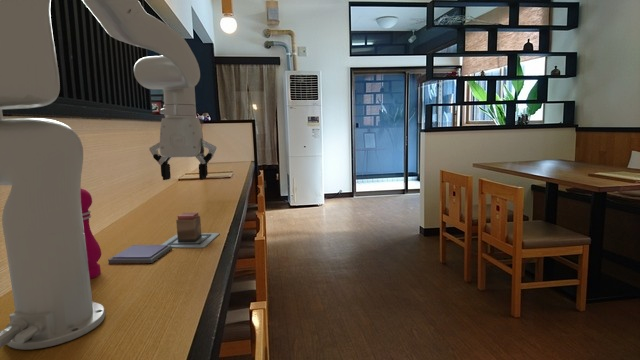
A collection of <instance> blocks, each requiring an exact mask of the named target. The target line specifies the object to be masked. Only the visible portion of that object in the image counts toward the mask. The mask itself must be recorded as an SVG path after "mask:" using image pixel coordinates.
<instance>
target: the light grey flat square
mask: <svg viewBox="0 0 640 360" xmlns="http://www.w3.org/2000/svg"><path fill="white" fill-rule="evenodd" d="M201 235H202V237H201V238H200V239H199V240H197V241H196V242H178V236H177V233H176V234H175V235H173V236H172V237H170V238H169V239H167V240H166V241H164V242H163V243H161V244H160V245H171V249H184V248H186V249H188V248H189V249H197V248H198V249H201V248H202V249H203V248H206V247H207V246H208V245H209V244H211V242H212V241H213V240H214V239H216V238H217V237H218V236H219V235H220V233H219V232H209V233H208V232H204V233H203V232H201Z"/></svg>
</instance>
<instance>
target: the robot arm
mask: <svg viewBox="0 0 640 360" xmlns="http://www.w3.org/2000/svg"><path fill="white" fill-rule="evenodd" d="M81 1H82V2H83V4H84V5H85V7H86V8H88V10H89V12H91V14H92V15H93V16H94V17H95V19H96V20H97V22H98V23H99V24H100V25H101V27H102V28H103V29H104V30H105V32H106V33H107V34H108V35H109V36H110V37H112V38H113V39H115V40H117V41H119V42H123V43H126V44H129V45H131V46H134V47H137V48H138V47H139V48H142V49H146V50H149V51H152V52H154V53H157V54H159V55H151V56H144V57H142V58H139V59H138V60H137V61H136V62H135V64H134V66H133V75H134V78H135V79H136V81H137V82H138V84H139V85H140V86H142V87H143V88H146V89H148V90H153V91H154V90H162V91H163V103H164V105H163V107H162V108H159V114H160V115H163V116H164V117H162V118H161V122H160V131H159V141H158V142H157V143H155V144H153V145H152V146H150V147H149V148H148V149H149V152H150V154H151V155H152V157H153V159H154V160H155V161H156V162H157V163H158V165H160V174H161V177H162V181H167V180H171V175H172V174H171V165H170V163H169V161H170V160H171V159H172V158H193V157H194V158H195V159H196V160H197V161H199V164H198V179H199V180H200V181H201V180H206V179H207V177H208V163H209V162H210V161H211V160H212V158H214V155H215V153H216V150H217V146H216V145H214V144H212V143H210V142H208V141H207V140H204V136H203V129H202V125H201V121H200V118H199V117H197V107H196V91H195V88H196V86H197V85H198V83H199V82H200V79H201V70H200V66H199V63H198V60H197V58H196V56H195V54H194V52H193V51H192V49H191V47H190V46H189V44H188V43H187V41H186V40H185V38H184V37H183V36H182V35H181V34H179V32H178V31H176V30H175V29H173V28H172V27H170V26H169V25H167V24H166V23H165V22H163V21H162V20H160V19H158V18H156V17H155V16H153V15H151V14H149V13H147V11H146V10H145V9H144V7H143V5H142V4H141V2H140V1H139V0H81ZM51 2H52V0H0V186H11V187H10V192H9V194H8V196H7V199H6V201H5V204H4V206H3V209H2V214H1V215H2V216H1V221H2V222H1V223H2V225H1V226H2V233H3V236H4V243H5V251H6V256H7V263H8V269H9V271H8V272H9V277H10V283H11V284H10V285H11V290H12V291H11V292H12V298H13V305H14V312H12V313H10V314H9V321H10V322H9V323H7V324H6V326H5V328H4V329H1V330H0V349H1V348H3V347H5V346H6V345H7V346H8V347H9V348H12V349H15V350H21V351H22V350H38V349H44V348H49V347H53V346H57V345H62V344H64V343H67V342H69V341H73V340H75V339H77V338H80V337H82V336H83V335H85V334H88V333H90V332H91V331H93V330H94V329H96V328H97V327H98V326H99V325H100V324H101V323H102V322H103V321H104V319H105V317H106V309H105V306H103V304H101V303H98V302H95V301H93V297H92V295H93V294H92V288H91V279H90V277H89V268H88V259H87V251H86V242H85V233H84V225H83V217H82V207H81V189H82V188H81V187H82V186H81V184H82V174H83V173H82V172H83V163H84V147H83V143H82V140H81V138H80V137H79V135H78V134H77V133H76V131H75V130H73V129H74V128H71V127H70V126H69V125H67V124H66V123H63V122H60V121H57V120H55V119H49V118H41V117H40V118H39V117H38V118H37V117H35V118H34V117H32V118H31V117H28V118H27V117H26V118H25V117H24V118H5V119H4V115H3V110H18V109H19V110H21V109H34V108H41V107H45V106H48V105H51V104H52V103H54V102H55V101H56V100H57V98H58V97H59V94H60V92H61V91H60V90H61V86H60V85H61V84H60V83H61V82H60V72H59V67H58V65H59V64H58V60H57V53H56V46H55V41H54V34H53V26H52V18H51V17H52V15H51ZM205 148H206V149H208V152H207V154H204V153H205ZM158 150H159V151H158ZM159 152H160V153H159Z"/></svg>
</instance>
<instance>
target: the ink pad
mask: <svg viewBox="0 0 640 360" xmlns="http://www.w3.org/2000/svg"><path fill="white" fill-rule="evenodd" d="M169 250H170V251H171V250H172V248H171V245H161V244H132V245H131V246H128V247H127V248H125V249H124V250H122V251H120V252H119V253H117V254H115V255H114V256H112V257H110V258H109V259H107V262H108V264H109V265H110V264H111V265H115V264H116V265H118V264H119V263H120V264H121V263H152V264H154V261H155V260H156V261H157V260H158V258H159V259H160V258H162V257H163V256H164V255H166V254H167V253H168V252H170V251H169ZM166 252H167V253H166ZM165 253H166V254H165ZM162 255H163V256H162ZM156 261H155V262H156ZM120 264H119V265H120Z"/></svg>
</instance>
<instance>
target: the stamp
mask: <svg viewBox="0 0 640 360" xmlns="http://www.w3.org/2000/svg"><path fill="white" fill-rule="evenodd" d="M199 214H200V213H199V212H198V211H197V212H196V211H195V212H183V213H180V214H179V215H177V219H176V220H175V221H176V234H177V236H178V242H196V241H197V240H199V239H200V238H201V237H202V235H201V233H202V226H201V225H202V223H201V222H202V221H201V215H199Z"/></svg>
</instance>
